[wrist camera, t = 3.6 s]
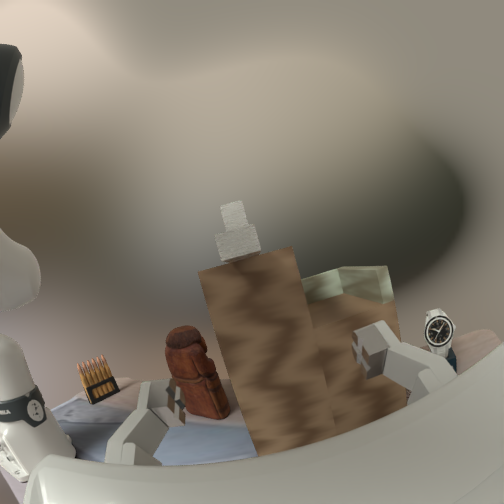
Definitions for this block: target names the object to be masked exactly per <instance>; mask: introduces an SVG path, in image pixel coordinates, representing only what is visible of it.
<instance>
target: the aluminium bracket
mask: <svg viewBox="0 0 504 504" xmlns="http://www.w3.org/2000/svg"><path fill="white" fill-rule="evenodd" d="M220 208H221V212H222V216H223V219H224V224H225V228H226V232H223V233H219V234H216V235H215V239H216V243H217V246H218V250H219V254H220V257H221V261H223V262H229V263H232V262H236V261H239V260H243V259H247V258H250V257H254V256H257V255H259V254H260V252H261V248H260V244H259V241H258V237H257V233H256V230H255V226H254V224H252V225H248V222H247V218H246V215H245V211H244V207H243V204H242V201H241V200H240V201H237V202H233V203H229V204H226V205H222V206H220Z"/></svg>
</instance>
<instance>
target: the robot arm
mask: <svg viewBox="0 0 504 504" xmlns="http://www.w3.org/2000/svg"><path fill="white" fill-rule="evenodd" d="M21 60H22V55H21V53H20V52H19V50H18V48H17V47H16V46H12V45H7V44H0V139H1V138H2V136H3V135H4V134H5V133H6V132H7V131H8V130H9V128H10V127H11V122H12V120H13V118H14V116H15V114H16V112H17V109H18V107H19V104H20V101H21V97H22V93H23V85H24V70H23V65H22V62H21ZM40 283H41V274H40V268H39V265H38V262H37V260H36V258H35V256H34V255H33V253H32V252H31V251H30V250H29V249H28V248H27V247H25V246H23V245H20V244H18V243H16V242H14V241H13V240H12V239H10V238H9V237H8V236H7V235H6V234H5V233H4V232H3V231H2V230H1V229H0V312H3V311H7V310H12V309H16V308H18V307H20V306H23V305H25V304H27V303H29V302H31V301H32V300H34V299H35V298H36V296H37V294H38V292H39V288H40ZM352 339H353V340H354V341H353V343H352V353H353V356H354V359H355V361H356V362H357V363H359V364H361V368H360V370H361V372H362V374H363V375H364V377H365V379H366V380H368V379H370V378H373V377H376V376H378V375H381V374H383V375H384V376H386V377H388V378H389V379H391V380H393V381H395V382H396V383H398V384H400V385H401V386H403V387H405V388H407V389H408V390H410V391H412V392H411V394H410V397H409V399H408V401H407V404H408V406H406V407H404V408H402V409H400V410H398V411H395V412H393V413H391V414H389V415H387V416H385V417H383V418H380V419H378V420H376V421H373V422H371V423H369V424H366V425H364V426H361V427H359V428H356V429H354V430H351V431H348V432H346V433H343V434H340V435H337V436H334V437H331V438H328V439H325V440H322V441H319V442H316V443H312V444H309V445H305V446H302V447H298V448H294V449H290V450H286V451H282V452H278V453H273V454H268V455H263V456H258V457H253V458H247V459H241V460H234V461H227V462H218V463H209V464H197V465H178V466H162V463H161V462H160V461H158V460H157V459H155V458H154V457H152V456H153V455H154V453H155V451H156V450H157V448H158V446H159V445H160V443H161V441H162V439H163V438H164V436H165V434H166V433H167V431H168V429H169V427H178V426H185V413H184V412H183V411H182V410H183V409H184V407H185V406H186V401H185V396H184V393H183V391H182V390H181V388H179V387H177V386H176V381H175V380H174V379H173V378H170V379H162V380H152V381H144V382H142V384H141V387H140V392H139V398H138V404H137V410H134V411H133V412H132V413H131V414H130V415H129V416H128V418H127V419H126V420H125V421H124V422H123V424H122V425H121V426H120V427H119V428H118V430H117V431H116V432H115V433H114V434H113V435H112V437H111V438H110V439H109V440H108V442H107V448H106V454H105V461H104V463H102V462H94V461H87V460H81V459H75V455H76V450H75V448H74V447H73V446H72V444H71V442H72V439H71V438H70V436H69V435H65V433H64V432H63V430H62V429H61V427H60V425H59V424H58V422H57V420H56V419H55V417H54V416H53V414H52V412H51V411H50V409H49V408H47V407H45V406H44V404H45V402H44V400H43V398H42V394H41V392H40V391H39V389H38V387H37V385H35V384H34V382H33V379H32V376H31V374H30V371H29V368H28V365H27V362H26V360H25V357H24V353H23V350H22V349H21V347H20V345H19V344H18V343H17V342H16V341H15V340H13V339H12V338H10V337H8V336H6V335H3V334H0V465H1V466H2V467H3V468H4V469H5V470H6V471H7V472H9V473H10V474H11V475H12V476H13V477H14V478H16V479H17V480H18V481H20V482H26V481H28V483H27V487H26V491H25V496H24V502H23V504H504V342H502V343H501V344H500V345H499V346H498V347H496V348H495V349H494V350H493V351H491V352H490V353H489V354H488V355H486V356H485V357H484V358H482V359H481V360H480V361H478V362H477V363H476V364H474V365H473V366H472V367H470V368H469V369H467V370H466V371H464V372H463V373H462V374H460V375H459V376H458V375H457V374H456V372H455V371H454V369H453V368H452V367H451V366H450V364H449V363H448V362H447V360H446V359H445V358H444V357H442V356H439V355H437V354H434V353H431V352H429V351H426V350H424V349H421V348H418V347H416V346H413V345H411V344H408V343H406V342H400V341H399V340H398V338H397V337H396V336H395V334H394V333H393V332H392V330H391V329H390V328H389V326H388V325H387V324H386V322H385V321H383V320H381V321H378V322H376V323H373V324H370V325H368V326H365V327H363V328H360V329H358V330H355V331H353V332H352Z"/></svg>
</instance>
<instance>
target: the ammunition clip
mask: <svg viewBox="0 0 504 504" xmlns="http://www.w3.org/2000/svg"><path fill="white" fill-rule="evenodd" d="M101 357H102V362H103V365H104V368H103V366H102V363H101V361H100V359H99V358H98V357H97V363H98V366H99V369H98V367H97V364H96V362H95V361H94V359H93V358H92V364H93V367H94V370H95V372H94V370H93V368H92V366H91V364H90V362H89V361H88V360H87V365H88V368H89V372H90V374H89V372H88V370H87V367H86V365H85V364H84V362H82V366H83V370H84V373H85V376H84V373H83V371H82V369H81V367H80V365H79V364H77V367H78V371H79V374H80V378H81V381H82V384H83V386H84V390H85V393H86V395H87V398H88V400H89V403H90V404H93V405H94V404H96V403H98V402H100V401H102V400H104V399H106V398H108V397H110V396H112V395H114V394H116V393H118V392H120V390H119V388H118V386H117V383H116V381H115V379H114V377H113V376H112V374H111V371H110V368H109V367H108V365H107V362H106V360H105V358H104V357H103V355H102V356H101ZM99 370H100V371H99Z"/></svg>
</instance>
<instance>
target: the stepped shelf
mask: <svg viewBox="0 0 504 504" xmlns="http://www.w3.org/2000/svg"><path fill="white" fill-rule="evenodd" d="M198 275H199V278H200V282H201V286H202V289H203V293H204V296H205V300H206V303H207V307H208V310H209V314H210V317H211V321H212V324H213V327H214V331H215V334H216V337H217V340H218V344H219V347H220V350H221V353H222V356H223V359H224V362H225V365H226V369H227V371H228V374H229V378H230V381H231V383H232V386H233V389H234V392H235V395H236V398H237V401H238V404H239V406H240V409H241V412H242V415H243V417H244V420H245V423H246V426H247V428H248V431H249V433H250V436H251V439H252V441H253V444H254V446H255V449H256V451H257V454H258V456H263V455H268V454H273V453H278V452H282V451H286V450H290V449H294V448H298V447H302V446H305V445H309V444H312V443H316V442H319V441H322V440H325V439H328V438H331V437H334V436H337V435H340V434H343V433H346V432H348V431H351V430H354V429H356V428H359V427H361V426H364V425H366V424H369V423H371V422H373V421H376V420H378V419H380V418H383V417H385V416H387V415H389V414H391V413H393V412H395V411H398V410H400V409H402V408H404V407H406V406H407V399H406V388H405V387H403V386H401V385H400V384H398V383H396V382H395V381H393V380H391V379H389V378H388V377H386V376H384V375H383V374H381V375H378V376H376V377H373V378H370V379H368V380H366V379H365V377H364V375H363V374H362V372H361V370H360V368H361V364H359V363H357V362H356V361H355V359H354V356H353V353H352V343H353V341H354V340H353V339H352V332H353V331H355V330H358V329H360V328H363V327H365V326H368V325H370V324H373V323H376V322H378V321H381V320H383V321H385V322H386V324H387V325H388V326H389V328H390V329H391V330H392V332H393V333H394V334H395V336H396V337H397V338H398V340H399V341H400V342H401V338H400V331H399V324H398V318H397V312H396V307H395V301H394V296H393V291H392V286H391V281H390V277H389V272H388V268H387V266H365V267H364V266H362V267H341V268H337V269H334V270H331V271H328V272H324V273H321V274H318V275H315V276H311V277H308V278H305V279H301V278H300V274H299V271H298V267H297V263H296V260H295V256H294V252H293V249H292V246H290V247H287V248H283V249H279V250H276V251H272V252H269V253H265V254H261V255H257V256H254V257H250V258H247V259H243V260H239V261H236V262H232V263H228V264H225V265H221V266H217V267H214V268H210V269H206V270H203V271H199V272H198Z"/></svg>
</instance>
